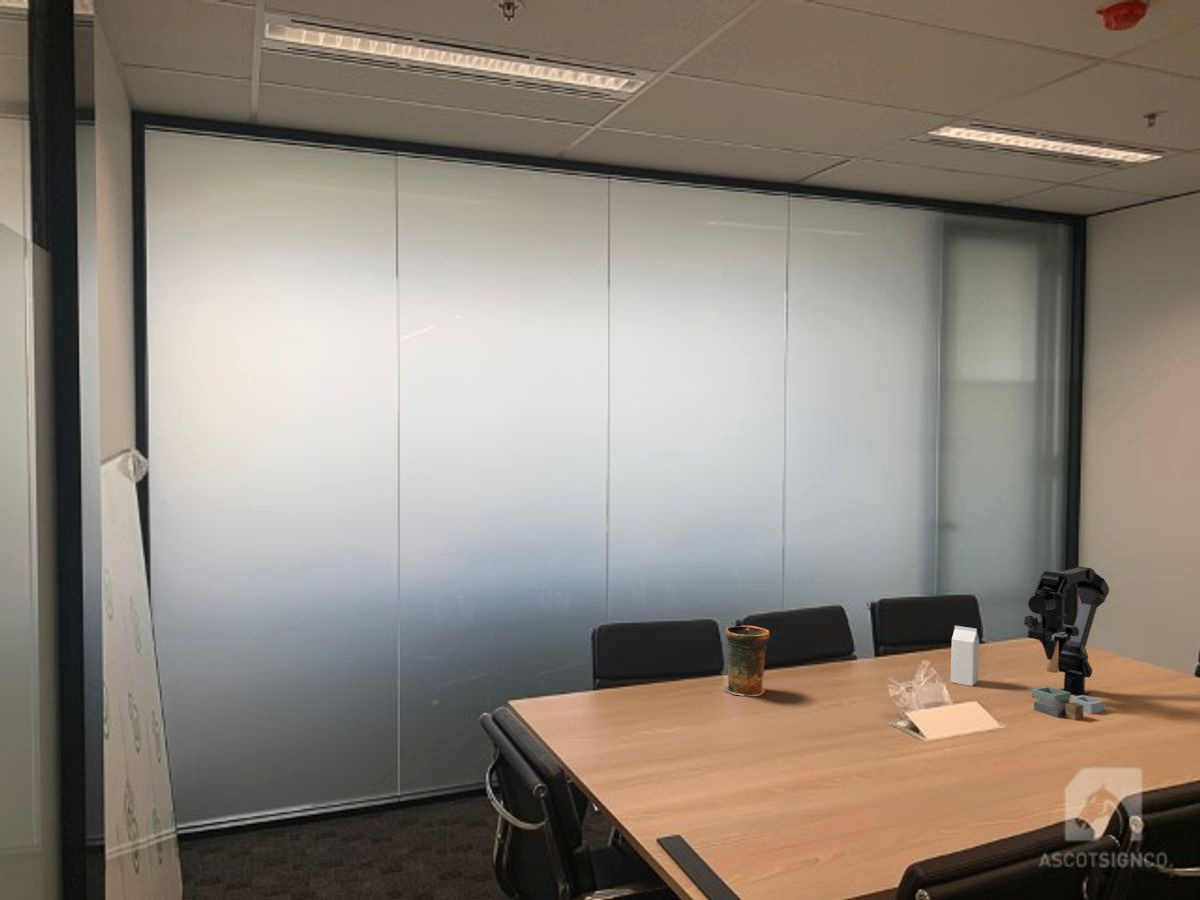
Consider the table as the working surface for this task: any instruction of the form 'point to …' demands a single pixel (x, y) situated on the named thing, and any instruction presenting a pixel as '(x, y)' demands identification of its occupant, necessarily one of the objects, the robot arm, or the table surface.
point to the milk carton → (964, 656)
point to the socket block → (1089, 703)
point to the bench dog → (1074, 711)
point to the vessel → (746, 659)
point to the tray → (1050, 694)
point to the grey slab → (1051, 707)
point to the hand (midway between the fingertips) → (1052, 658)
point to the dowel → (1053, 660)
